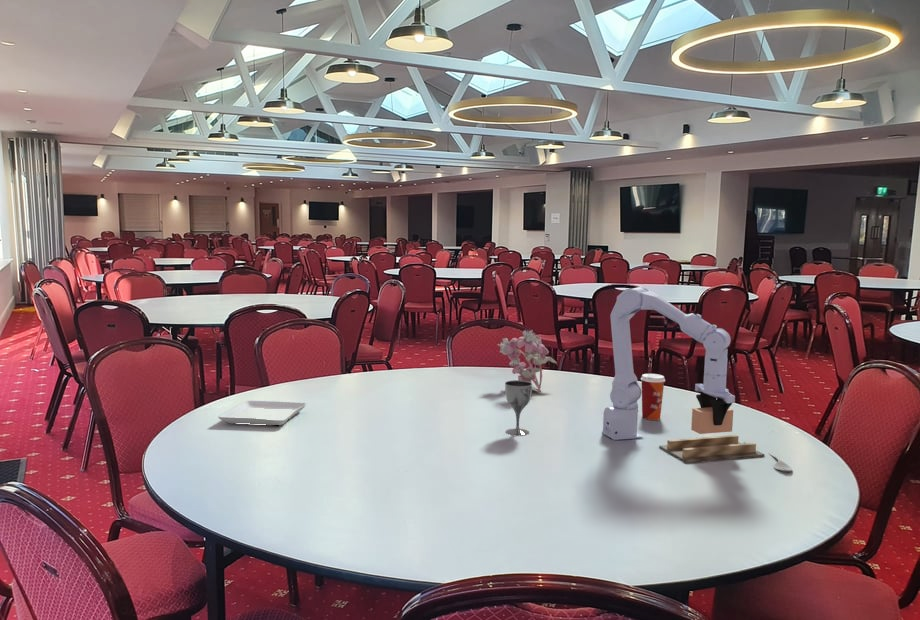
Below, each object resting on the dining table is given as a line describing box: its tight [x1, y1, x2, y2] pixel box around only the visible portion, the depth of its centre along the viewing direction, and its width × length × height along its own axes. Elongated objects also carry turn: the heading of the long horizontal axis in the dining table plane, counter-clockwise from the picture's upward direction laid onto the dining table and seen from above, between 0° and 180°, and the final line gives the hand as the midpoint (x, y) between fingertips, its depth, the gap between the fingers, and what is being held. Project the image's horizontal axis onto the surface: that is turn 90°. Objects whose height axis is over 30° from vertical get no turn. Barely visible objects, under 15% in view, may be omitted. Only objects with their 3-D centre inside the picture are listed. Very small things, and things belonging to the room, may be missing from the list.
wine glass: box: [504, 380, 533, 437], centre depth 194 cm, size 8×8×15 cm
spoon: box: [768, 451, 793, 473], centre depth 172 cm, size 4×21×2 cm, turn 165°
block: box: [691, 407, 734, 435], centre depth 178 cm, size 10×4×6 cm, turn 105°
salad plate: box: [218, 400, 307, 426], centre depth 207 cm, size 21×21×3 cm
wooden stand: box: [659, 434, 766, 464], centre depth 179 cm, size 24×13×3 cm, turn 105°
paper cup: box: [640, 373, 666, 421], centre depth 211 cm, size 8×8×14 cm
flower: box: [497, 329, 558, 394], centre depth 250 cm, size 20×22×25 cm
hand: (712, 422), depth 178 cm, fingers closed on block, 4 cm apart
